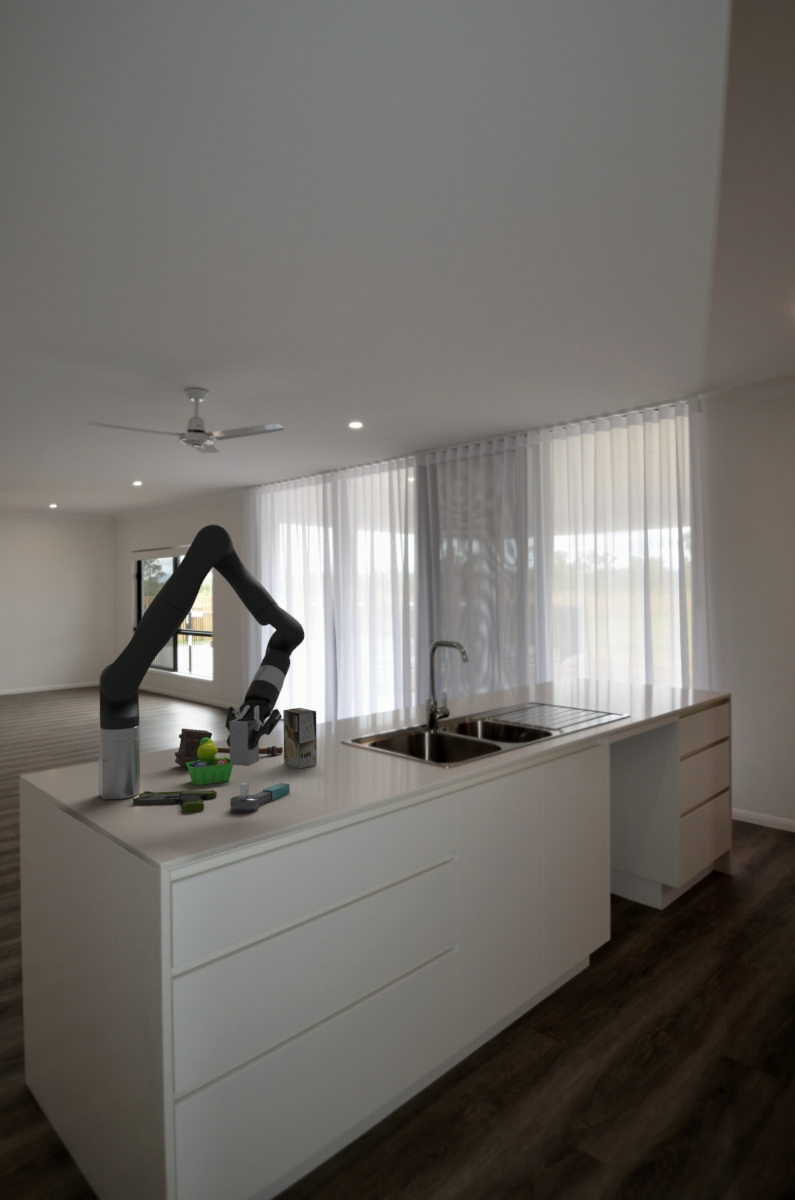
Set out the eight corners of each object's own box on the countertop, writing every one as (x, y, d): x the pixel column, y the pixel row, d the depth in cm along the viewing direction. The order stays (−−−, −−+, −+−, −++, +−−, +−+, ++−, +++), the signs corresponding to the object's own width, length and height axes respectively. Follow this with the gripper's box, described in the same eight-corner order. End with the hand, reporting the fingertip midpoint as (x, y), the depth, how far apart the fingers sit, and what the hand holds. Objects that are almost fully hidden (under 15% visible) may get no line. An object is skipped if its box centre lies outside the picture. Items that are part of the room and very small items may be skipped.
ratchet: (246, 815, 156) (246, 788, 156) (224, 811, 159) (224, 785, 159) (295, 794, 172) (295, 770, 172) (274, 790, 175) (274, 767, 175)
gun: (120, 817, 157) (141, 800, 172) (205, 814, 158) (218, 796, 173) (120, 806, 157) (141, 789, 172) (205, 803, 158) (218, 786, 173)
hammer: (172, 761, 202) (179, 727, 203) (274, 768, 219) (279, 736, 220) (179, 766, 196) (186, 731, 197) (282, 772, 214) (288, 740, 215)
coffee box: (318, 765, 202) (317, 710, 202) (299, 768, 198) (299, 713, 198) (300, 759, 209) (300, 707, 209) (282, 763, 205) (282, 709, 205)
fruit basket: (192, 787, 179) (192, 744, 179) (184, 779, 187) (184, 738, 187) (235, 781, 185) (235, 739, 185) (225, 774, 192) (225, 734, 192)
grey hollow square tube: (230, 764, 158) (229, 721, 158) (241, 759, 163) (240, 717, 163) (248, 765, 157) (247, 722, 157) (259, 761, 161) (258, 718, 161)
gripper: (234, 677, 169) (206, 736, 158) (286, 679, 165) (261, 739, 153) (245, 696, 174) (219, 754, 163) (296, 698, 170) (273, 758, 158)
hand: (240, 746), depth 158 cm, fingers closed on grey hollow square tube, 4 cm apart
